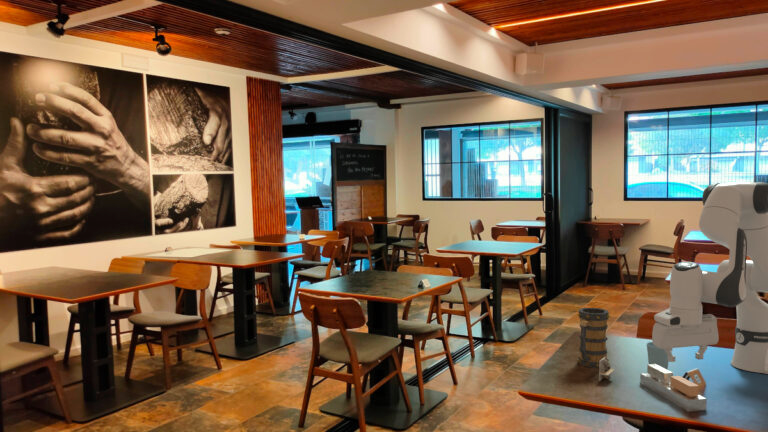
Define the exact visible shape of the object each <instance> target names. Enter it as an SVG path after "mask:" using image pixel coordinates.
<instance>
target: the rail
mask: <svg viewBox="0 0 768 432" xmlns="http://www.w3.org/2000/svg"><path fill="white" fill-rule="evenodd" d="M646 366H647V370H646V371H647V372H643V373H640V374H639V375H640V379H639V380H640V382H639V383H640V385H642V386H644V387H646V388H647V389H649V390H650V391H652V392H653V393H656V395H659V396H660V397H662V398H664V399H665V400H666V401H667V400H668V401H669V402H671V403H672V402H673V403H672V404H675V405H676V406H677V407H679V408H681V409H683V410H685V411H686V412H688V413H689V412H700V411H702V412H703V411H707V398H706V397H704V396H702V395H700V394H699V396H695V398H688V397H686V394H685V393H683V392H681V391H675V390H674V387H672V386H670V382H671V376H674V372H673V371H670V370H669V369H665V368H663V367H661V366H659V365H657V364H649V363H648V364H647V365H646Z"/></svg>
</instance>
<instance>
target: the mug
mask: <svg viewBox="0 0 768 432" xmlns="http://www.w3.org/2000/svg"><path fill="white" fill-rule="evenodd" d="M576 316H578V318H579V327H580V335H579V337H578V338H579V339H580V346H579V349H578V351H579V355H578V356H576V358H577V359H578V360H576V362H577V363H579V364H580V365H582V366H584V367H588V368H599V361H600V360H602V359H603V358H604V357H605V360H607V361H608V364H609V365H610V363H609V361H610V359H608V357H607V354H608V349H607V345H606V344H607V343H606V342H607V341H608V339H609V338H608V337H607V329H608V320H609V318H611V313H610V312H609V310H608V309H606V308H605V309H604V308H599V307H581V308H579V309H578V311H577V314H576Z"/></svg>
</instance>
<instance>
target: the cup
mask: <svg viewBox="0 0 768 432" xmlns="http://www.w3.org/2000/svg"><path fill="white" fill-rule="evenodd" d="M646 350H647V360H648V364H657V365H659V366H661V367H663V368H665V369H667V370H669V369H668V367H669V363H670V362H669V361H668V359H667V354H666V352H665V351H664V349H660V348H657V347H655V346H654V344H653V342H652V341H649V342H647V343H646Z"/></svg>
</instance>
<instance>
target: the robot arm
mask: <svg viewBox="0 0 768 432" xmlns="http://www.w3.org/2000/svg"><path fill="white" fill-rule="evenodd" d="M701 199H702V205H703V206H702V207H703V208H702V210H701V213H700V216H699V221H698V226H699V227H698V228H699V229H700V232H701V233H702V235H704V237H706V238H707V239H708V240H710V241H711V242H714V243H715V244H718V245H721V246H723V247H725V248H727V249H728V250H729V256H728V259H724V260H722V261H721V262H720V263H719V264H718V266H717V270H716V272H715V271H709V270H708V271H707V270H702V269H701V266H700V264H698V263H696V262H693V261H682V262H677V263H675V264H673V266H672V268H671V273H670V281H669V293H670V297H671V298H670V302H669V308H666V309H665V310H662V311H660V312H658V313H656V314H654V316H653V318H654V321H655V323H654V325H653V327H652V333H651V334H652V335H651V336H652V337H651V342H653V344H654V346H655V347H657V348H660V349H664V351H665V352H666V354H667V359H668V361H669V362H668V363H674V362H675V363H676V356H675V355H673V354H672V352H673V349H678V348H688V347H699V349H698V351H697V352H695V359H697V360H704V356H705V355H704V354H705V353H706V351H707V349H708V346H712V345H717V344H718V342H719V340H720V339H719V336H720V335H719V330H718V325H717V324H718V319H717V316H715V315H713V314H712V313H707V314H703V304H702V303H707V304H708V303H709V304H715V305H720V306H724V307H729V308H736V326H735V330H734V331H735V332H734V335H735V344H734V350H733V355H732V358H731V361H730V365H731V366H733V367H734V368H737V369H738V370H739V369H741V370H743V371H747V372H752V373H761V374H766V375H768V303H767V302H765V301H764V300H762V298H760V296H759V295H758V293H757V292H759V293H768V182H765V181H764V182H762V181H758V182H754V181H737V182H735V181H734V182H725V183H719V182H716V183H712V184H709V185H708V186H707V187H706V188H704V190H703V193H702V198H701ZM747 257H749V259H747Z"/></svg>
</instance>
